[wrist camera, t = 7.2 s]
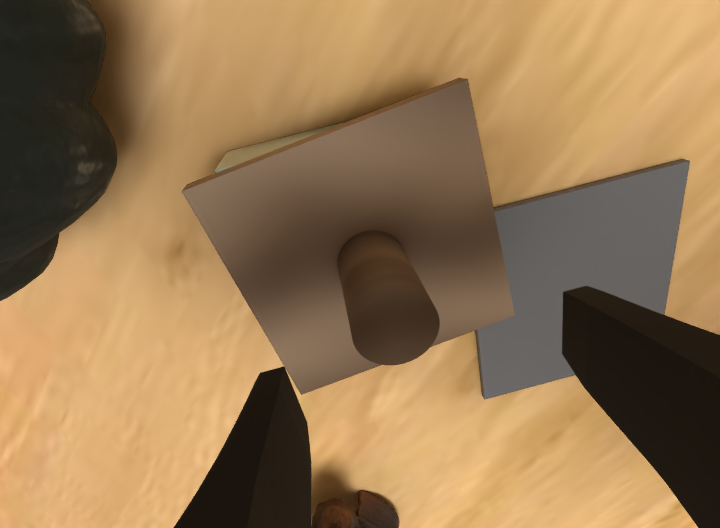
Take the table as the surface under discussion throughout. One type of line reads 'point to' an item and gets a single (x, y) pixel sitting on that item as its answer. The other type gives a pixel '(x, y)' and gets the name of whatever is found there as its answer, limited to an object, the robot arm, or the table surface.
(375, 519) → the pottery mug
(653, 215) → the mat
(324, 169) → the lid
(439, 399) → the table surface
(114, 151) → the squash
